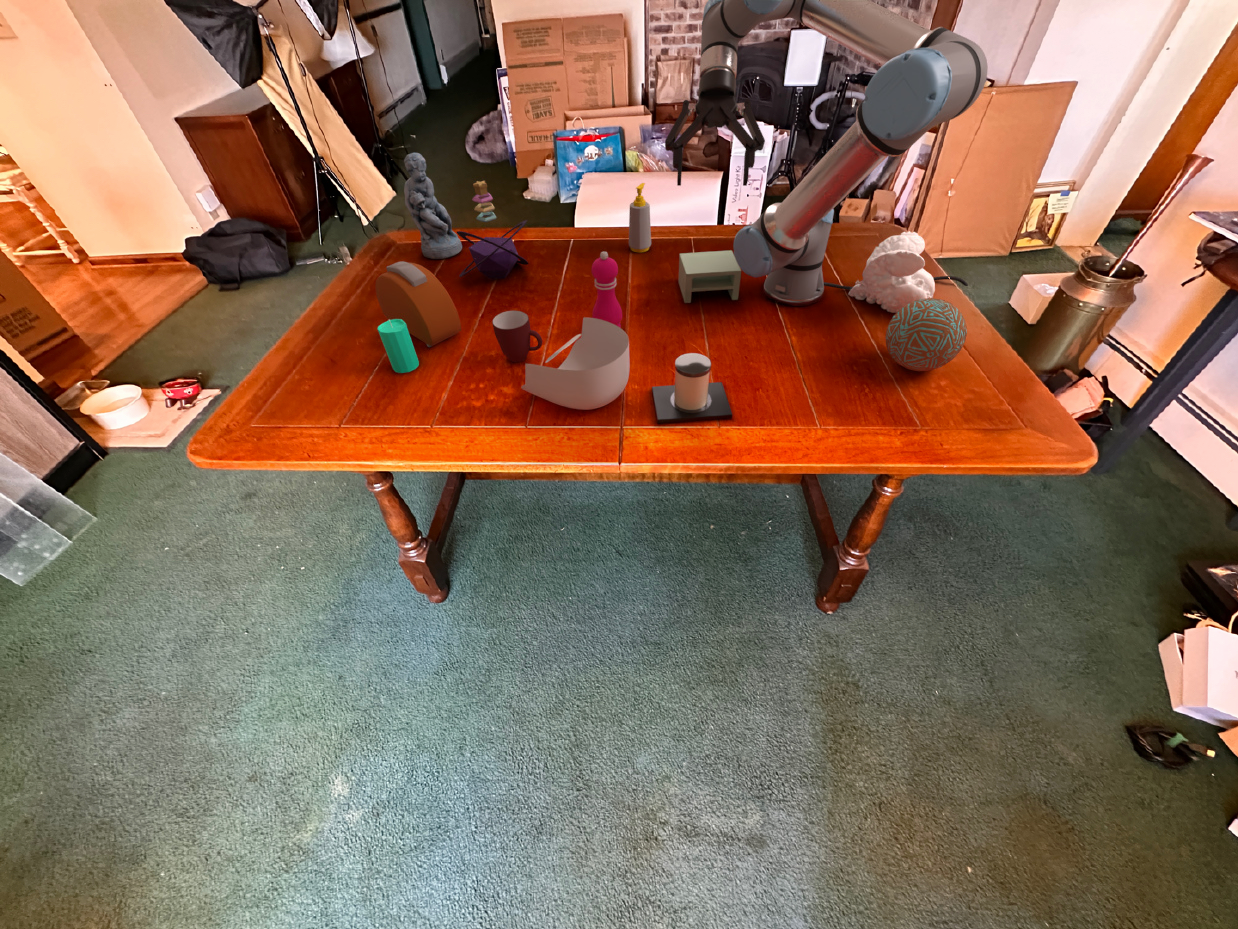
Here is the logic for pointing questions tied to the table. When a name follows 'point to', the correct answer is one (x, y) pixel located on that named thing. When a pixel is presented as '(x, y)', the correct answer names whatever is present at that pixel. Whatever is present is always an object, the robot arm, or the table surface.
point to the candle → (398, 345)
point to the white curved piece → (585, 369)
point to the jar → (691, 381)
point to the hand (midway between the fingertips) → (712, 182)
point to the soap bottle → (639, 223)
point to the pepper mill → (606, 290)
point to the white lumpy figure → (895, 274)
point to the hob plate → (672, 413)
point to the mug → (515, 335)
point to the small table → (709, 273)
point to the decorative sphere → (926, 334)
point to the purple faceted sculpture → (491, 242)
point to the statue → (428, 212)
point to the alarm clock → (417, 302)
